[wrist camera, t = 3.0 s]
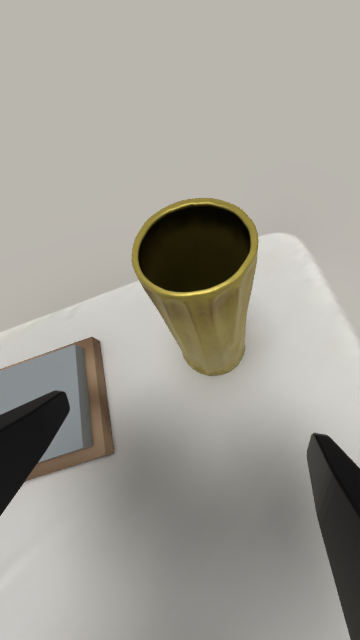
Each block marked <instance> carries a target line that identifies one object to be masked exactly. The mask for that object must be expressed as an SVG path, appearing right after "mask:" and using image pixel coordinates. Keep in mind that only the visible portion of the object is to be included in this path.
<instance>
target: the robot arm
mask: <svg viewBox="0 0 360 640" xmlns="http://www.w3.org/2000/svg"><path fill="white" fill-rule="evenodd" d="M69 411H70V405H69V401H68V397H67V394H66V393H65V392H64V391H59V390H54V391H52V392H50V393H47V394H45V395H43V396H41V397H39V398H36V399H34V400H32V401H30V402H27V403H25V404H23V405H21V406H19V407H16V408H14V409H12V410H10V411H8V412H5V413H3V414H1V415H0V516H1V514H2V513H3V512H4V510H5V509H6V507H7V506H8V504H9V503H10V502H11V500H12V499H13V497H14V496H15V495H16V493H17V492H18V490H19V489H20V487H21V486H22V485H23V483H24V482H25V480H26V479H27V478H28V476H29V475H30V473H31V472H32V471H33V469H34V468H35V466H36V465H37V463H38V462H39V461H40V459H41V458H42V456H43V455H44V453H45V452H46V450H47V449H48V447H49V446H50V444H51V442H52V441H53V439H54V437H55V436H56V434H57V432H58V431H59V429H60V427H61V425H62V424H63V422H64V420H65V419H66V417H67V415H68V414H69ZM307 461H308V467H309V473H310V478H311V484H312V490H313V496H314V502H315V507H316V512H317V517H318V521H319V525H320V529H321V533H322V537H323V540H324V544H325V547H326V551H327V555H328V558H329V562H330V566H331V569H332V573H333V577H334V580H335V584H336V588H337V591H338V595H339V599H340V602H341V606H342V610H343V613H344V617H345V620H346V624H347V628H348V631H349V635H350V639H351V640H360V468H359V467H358V466H357V465H356V464H355V463H354V462H353V461H352V460H351V459H350V458H349V457H348V456H347V454H346V453H345V452H344V451H343V450H342V449H341V448H340V447H339V446H338V445H337V444H336V443H335V442H334V441H333V440H332V439H331V438H330V437H329V436H328V435H324V434H318V433H313V434H312V435H311V438H310V442H309V446H308V449H307Z"/></svg>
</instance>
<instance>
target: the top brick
mask: <svg viewBox="0 0 360 640" xmlns="http://www.w3.org/2000/svg"><path fill="white" fill-rule="evenodd" d="M54 390H59V391H64V392H65V393H66V394H67V397H68V401H69V405H70V411H69V414H68V415H67V417H66V419H65V420H64V422H63V424H62V425H61V427H60V429H59V431H58V432H57V434H56V436H55V437H54V439H53V441H52V442H51V444H50V446H49V447H48V449H47V450H46V452H45V453H44V455H43V456H42V458H41V459H40V461H39V462H38V463H41V462H44V461H47V460H50V459H53V458H56V457H59V456H63V455H66V454H69V453H72V452H75V451H78V450H81V449H84V448H87V447H90V446H93V437H92V427H91V416H90V406H89V395H88V385H87V374H86V364H85V353H84V348H82V347H80V346H77V345H72V346H69V347H66V348H63V349H60V350H58V351H55V352H52V353H49V354H46V355H43V356H41V357H38V358H35V359H32V360H29V361H27V362H24V363H21V364H18V365H15V366H12V367H10V368H7V369H4V370H1V371H0V415H1V414H3V413H5V412H8V411H10V410H12V409H14V408H16V407H19V406H21V405H23V404H25V403H27V402H30V401H32V400H34V399H36V398H39V397H41V396H43V395H45V394H47V393H50V392H52V391H54ZM38 463H37V464H38Z"/></svg>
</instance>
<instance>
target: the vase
mask: <svg viewBox="0 0 360 640" xmlns="http://www.w3.org/2000/svg"><path fill="white" fill-rule="evenodd" d="M257 251H258V233H257V230H256V227H255V225H254V223H253V222H252V220H251V219H250V218H249V217H248V215H247V214H246V213H245V212H244V211H243V210H242V209H240V208H239V207H237V206H235V205H233V204H231V203H228V202H225V201H222V200H218V199H213V198H196V199H187V200H183V201H179V202H176V203H174V204H171V205H169V206H167V207H165V208H163V209H161V210H160V211H158V212H157V213H155V214H154V215H153V216H151V217H150V218H149V219H148V220H147V221H146V222H145V224H144V225H143V226H142V228H141V230H140V231H139V233H138V234H137V236H136V238H135V242H134V245H133V249H132V265H133V268H134V271H135V273H136V275H137V277H138V279H139V281H140V283H141V285H142V286H143V288H144V290H145V291H146V293H147V294H148V296H149V297H150V299H151V300H152V302H153V303H154V305H155V306H156V308H157V310H158V311H159V313H160V314H161V316H162V318H163V319H164V321H165V323H166V325H167V326H168V328H169V330H170V332H171V333H172V335H173V337H174V338H175V340H176V341H177V343H178V345H179V347H180V348H181V350H182V353H183V356H184V358H185V360H186V361H187V363H188V364H189V365H190V366H191V367H192V368H193V369H194V370H196V371H198V372H200V373H202V374H206V375H220V374H224V373H227V372H229V371H231V370H232V369H233V368H235V367H236V366H237V365H238V364H239V362H240V361H241V359H242V357H243V354H244V350H245V325H246V315H247V309H248V304H249V299H250V295H251V290H252V284H253V279H254V274H255V269H256V263H257Z"/></svg>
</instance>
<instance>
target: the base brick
mask: <svg viewBox="0 0 360 640" xmlns="http://www.w3.org/2000/svg"><path fill="white" fill-rule="evenodd" d="M72 345H77V346H80V347H82V348H84V353H85V364H86V374H87V385H88V395H89V406H90V416H91V427H92V437H93V446H90V447H87V448H84V449H81V450H78V451H75V452H72V453H69V454H66V455H63V456H59V457H56V458H53V459H50V460H47V461H44V462H41V463H38V464H37V465H36V466H35V468H34V469H33V471H32V472H31V473H30V475H29V476H28V478H27V479H26V480H25V481H27V480H30V479H33V478H36V477H39V476H42V475H46V474H49V473H52V472H55V471H58V470H61V469H64V468H68V467H71V466H74V465H77V464H80V463H83V462H86V461H89V460H93V459H96V458H99V457H102V456H105V455H108V454H111V453H114V449H113V441H112V433H111V426H110V418H109V410H108V403H107V395H106V387H105V379H104V372H103V364H102V356H101V349H100V341H98V340H97V339H95V338H93V337H90V338H87V339H84V340H81V341H79V342H76V343H73V344H70V345H67V346H64V347H62V348H59V349H56V350H53V351H50V352H48V353H45V354H42V355H39V356H36V357H33V358H31V359H28V360H25V361H22V362H19V363H17V364H14V365H11V366H8V367H5V368H2V369H0V371H1V370H4V369H7V368H10V367H12V366H15V365H18V364H21V363H24V362H27V361H29V360H32V359H35V358H38V357H41V356H43V355H46V354H49V353H52V352H55V351H58V350H60V349H63V348H66V347H69V346H72Z"/></svg>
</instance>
